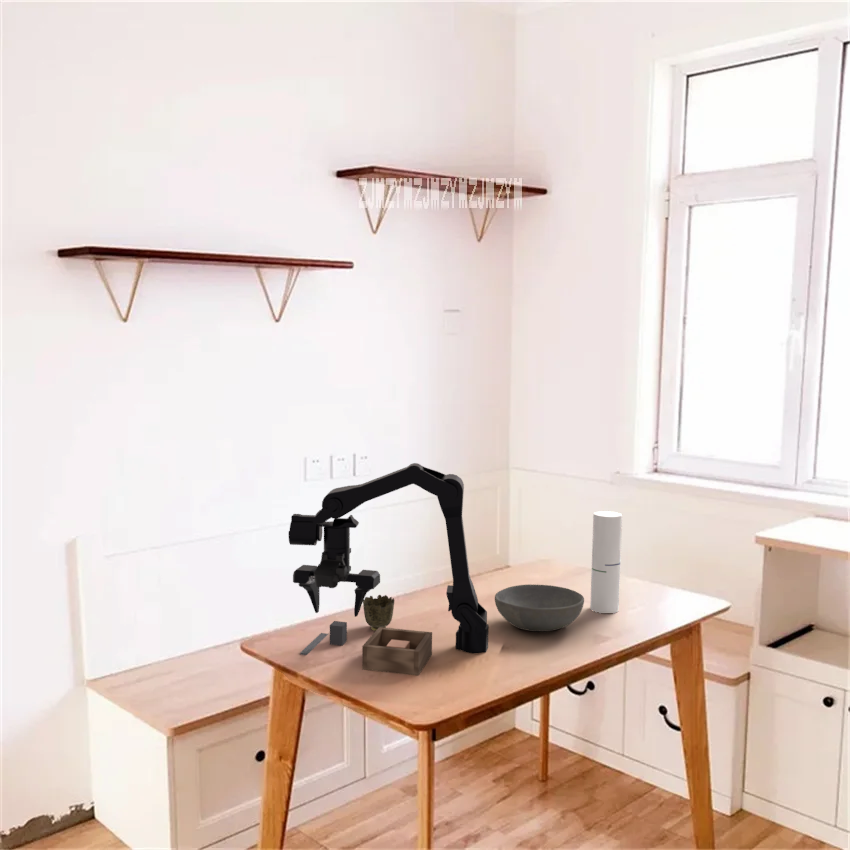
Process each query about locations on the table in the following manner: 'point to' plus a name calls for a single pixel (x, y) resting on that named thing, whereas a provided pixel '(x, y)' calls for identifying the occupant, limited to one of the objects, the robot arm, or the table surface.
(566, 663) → the table surface
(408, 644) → the terracotta cube
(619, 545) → the cylindrical container
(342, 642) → the lid
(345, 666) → the table surface
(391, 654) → the walnut box
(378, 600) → the cup
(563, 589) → the bowl
